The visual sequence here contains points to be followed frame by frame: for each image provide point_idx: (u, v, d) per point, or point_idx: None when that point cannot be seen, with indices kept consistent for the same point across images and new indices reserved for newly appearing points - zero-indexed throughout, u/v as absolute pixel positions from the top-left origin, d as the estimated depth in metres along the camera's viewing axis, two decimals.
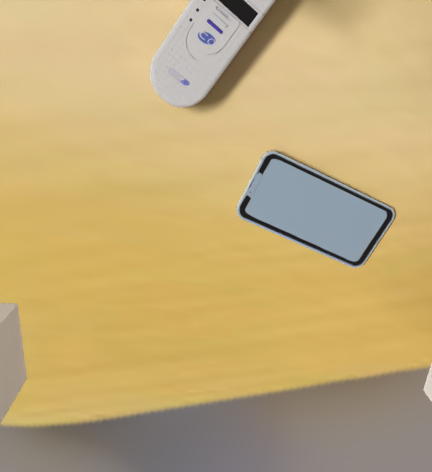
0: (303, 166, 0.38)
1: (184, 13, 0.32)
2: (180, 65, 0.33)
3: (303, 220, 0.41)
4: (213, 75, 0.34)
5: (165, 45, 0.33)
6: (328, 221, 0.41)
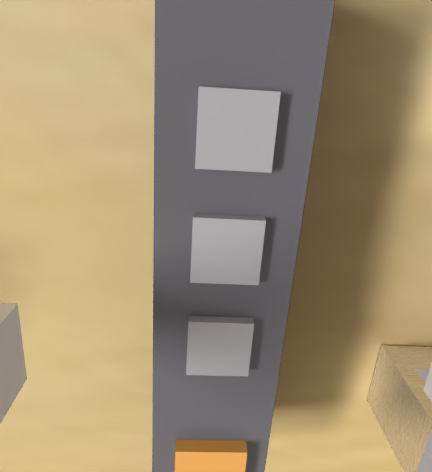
0: None
1: None
2: None
3: None
4: None
5: None
6: None
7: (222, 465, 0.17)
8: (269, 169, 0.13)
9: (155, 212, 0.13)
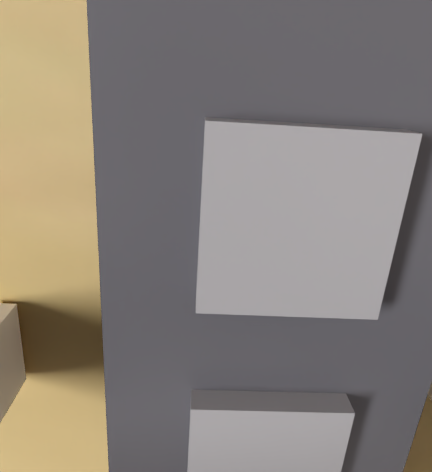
0: None
1: None
2: None
3: None
4: None
5: None
6: None
7: None
8: (373, 312, 0.05)
9: (108, 388, 0.06)
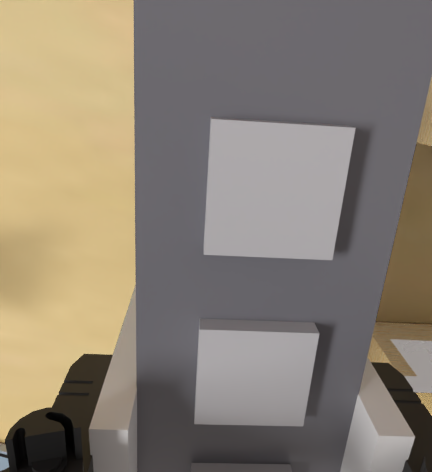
0: None
1: None
2: None
3: None
4: None
5: None
6: None
7: None
8: (328, 255, 0.08)
9: (138, 317, 0.08)
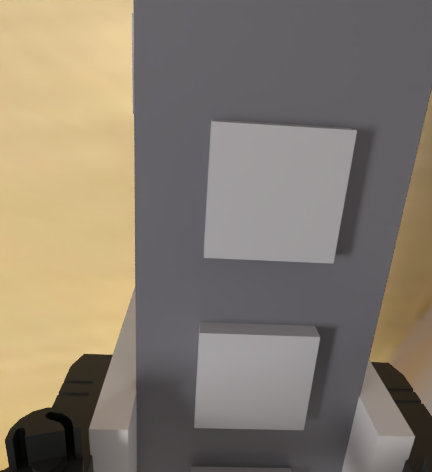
0: None
1: None
2: None
3: None
4: None
5: None
6: None
7: None
8: (330, 258, 0.07)
9: (138, 320, 0.08)
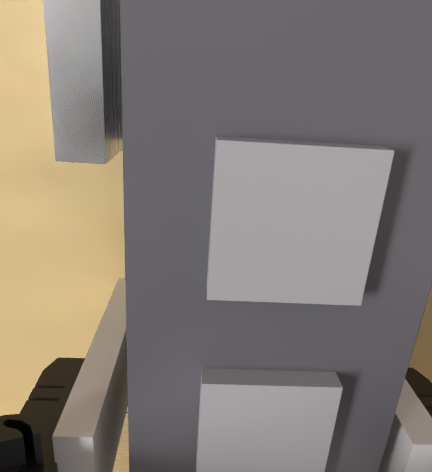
0: None
1: None
2: None
3: None
4: None
5: None
6: None
7: None
8: (357, 299, 0.06)
9: (130, 367, 0.07)
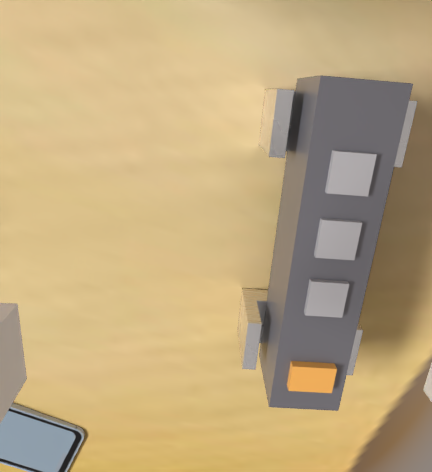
0: None
1: None
2: None
3: None
4: None
5: None
6: (14, 441, 0.39)
7: (320, 377, 0.27)
8: (366, 194, 0.23)
9: (299, 216, 0.24)
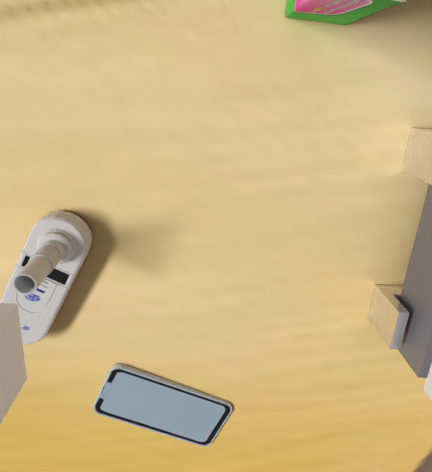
0: (146, 376, 0.45)
1: (9, 283, 0.39)
2: None
3: (152, 414, 0.47)
4: (47, 320, 0.40)
5: None
6: (175, 414, 0.47)
7: None
8: None
9: None
